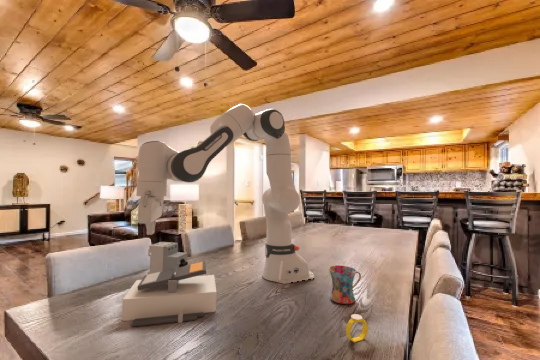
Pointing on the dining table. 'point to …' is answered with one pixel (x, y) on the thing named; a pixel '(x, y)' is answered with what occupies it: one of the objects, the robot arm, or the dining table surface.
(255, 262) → the dining table surface
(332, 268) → the mug
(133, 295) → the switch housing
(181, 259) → the circuit breaker
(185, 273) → the block
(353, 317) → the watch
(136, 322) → the dark grey piece
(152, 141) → the robot arm
